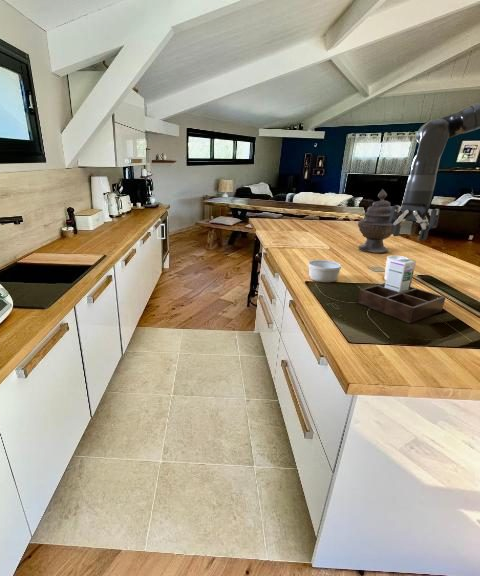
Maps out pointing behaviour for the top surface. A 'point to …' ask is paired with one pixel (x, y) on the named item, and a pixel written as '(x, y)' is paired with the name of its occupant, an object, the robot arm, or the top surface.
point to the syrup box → (400, 274)
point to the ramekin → (324, 270)
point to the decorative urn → (376, 225)
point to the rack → (401, 302)
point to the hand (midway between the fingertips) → (408, 238)
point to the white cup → (389, 262)
